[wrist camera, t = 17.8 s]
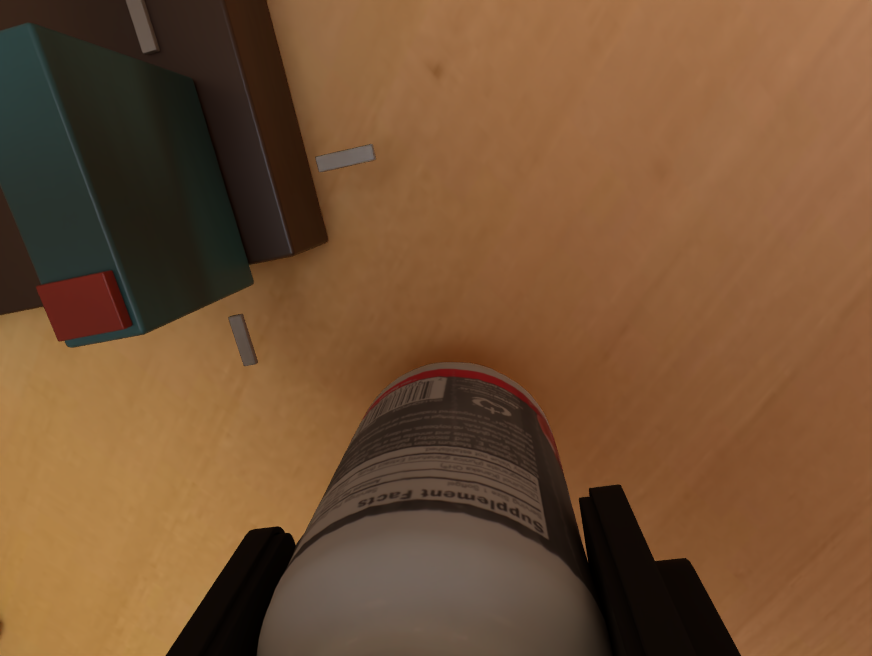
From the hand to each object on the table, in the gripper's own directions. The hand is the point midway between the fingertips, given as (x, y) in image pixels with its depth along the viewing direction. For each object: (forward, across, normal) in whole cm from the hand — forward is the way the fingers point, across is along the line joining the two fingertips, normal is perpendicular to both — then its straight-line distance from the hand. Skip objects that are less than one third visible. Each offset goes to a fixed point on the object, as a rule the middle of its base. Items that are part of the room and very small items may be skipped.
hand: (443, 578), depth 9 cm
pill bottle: (+5, 0, 0) cm, 5 cm away
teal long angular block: (+5, +5, -8) cm, 11 cm away
